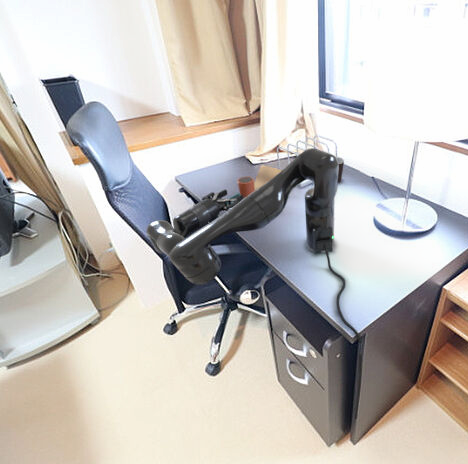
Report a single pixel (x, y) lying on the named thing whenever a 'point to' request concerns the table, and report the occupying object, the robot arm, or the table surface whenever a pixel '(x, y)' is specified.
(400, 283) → the table surface
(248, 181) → the orange cylinder
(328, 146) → the file sorter
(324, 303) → the table surface
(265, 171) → the wooden stand
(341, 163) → the coffee mug
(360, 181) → the table surface
